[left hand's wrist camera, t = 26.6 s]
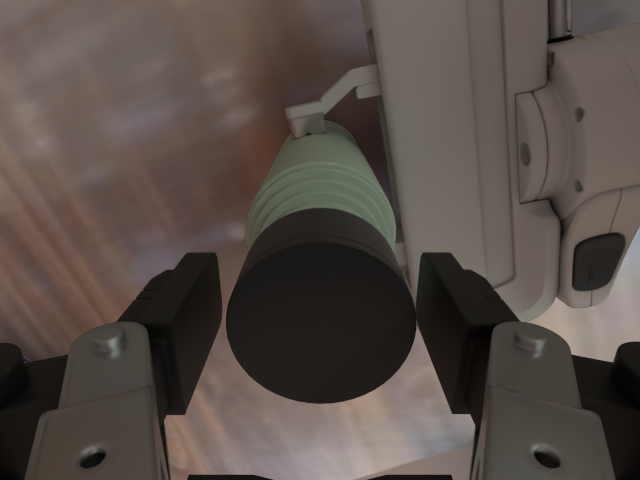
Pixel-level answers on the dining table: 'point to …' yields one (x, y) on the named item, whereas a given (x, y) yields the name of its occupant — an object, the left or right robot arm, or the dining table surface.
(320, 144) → the bottle
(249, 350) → the cap
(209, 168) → the dining table surface
